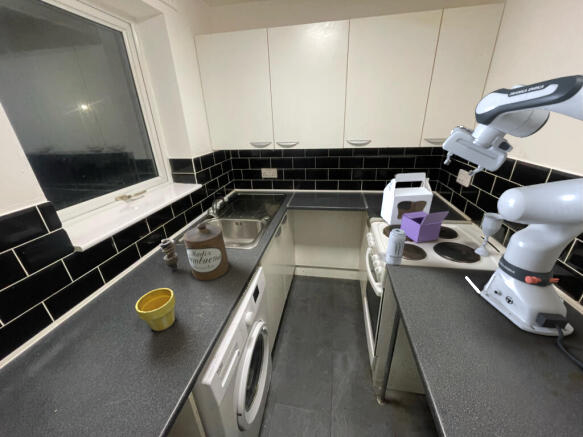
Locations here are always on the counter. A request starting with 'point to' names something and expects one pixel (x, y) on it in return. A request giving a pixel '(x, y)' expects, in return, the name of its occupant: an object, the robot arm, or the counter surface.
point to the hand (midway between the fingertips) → (457, 169)
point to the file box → (419, 227)
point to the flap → (434, 217)
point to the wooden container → (206, 251)
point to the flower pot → (157, 308)
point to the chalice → (489, 230)
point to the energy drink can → (395, 246)
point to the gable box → (406, 197)
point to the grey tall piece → (169, 253)
